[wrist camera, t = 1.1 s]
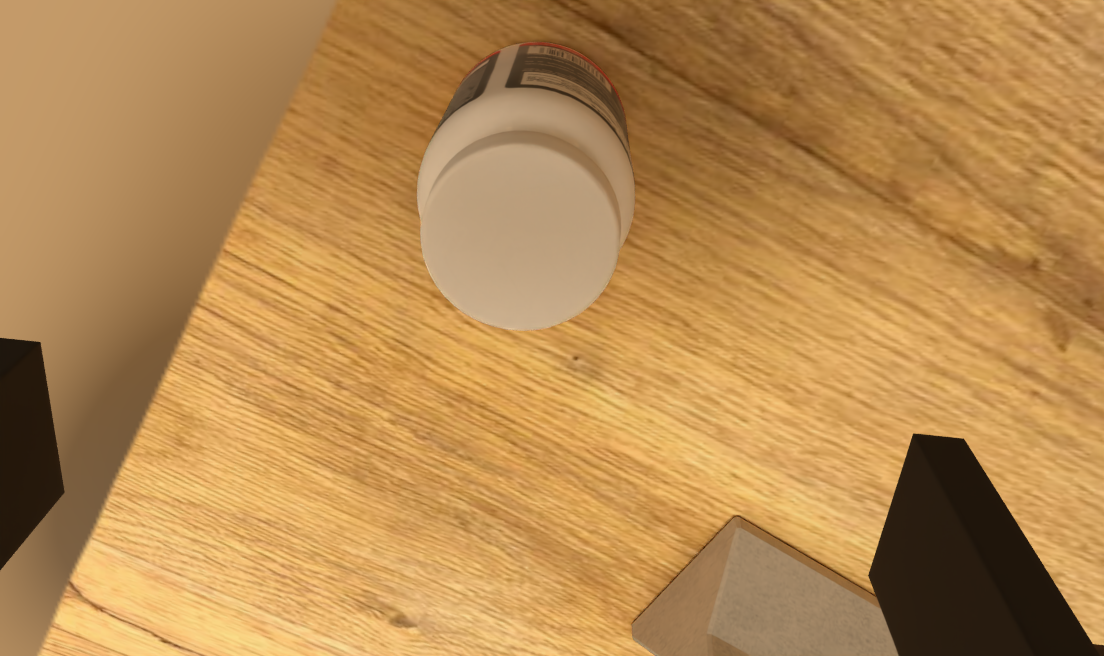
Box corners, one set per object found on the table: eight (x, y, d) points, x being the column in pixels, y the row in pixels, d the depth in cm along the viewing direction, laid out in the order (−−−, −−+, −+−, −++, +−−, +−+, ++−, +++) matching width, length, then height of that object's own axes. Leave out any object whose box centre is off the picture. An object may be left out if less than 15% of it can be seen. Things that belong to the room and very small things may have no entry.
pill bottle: (490, 233, 33) (451, 379, 24) (421, 76, 30) (350, 173, 22) (650, 178, 32) (672, 310, 23) (592, 10, 29) (591, 84, 20)
